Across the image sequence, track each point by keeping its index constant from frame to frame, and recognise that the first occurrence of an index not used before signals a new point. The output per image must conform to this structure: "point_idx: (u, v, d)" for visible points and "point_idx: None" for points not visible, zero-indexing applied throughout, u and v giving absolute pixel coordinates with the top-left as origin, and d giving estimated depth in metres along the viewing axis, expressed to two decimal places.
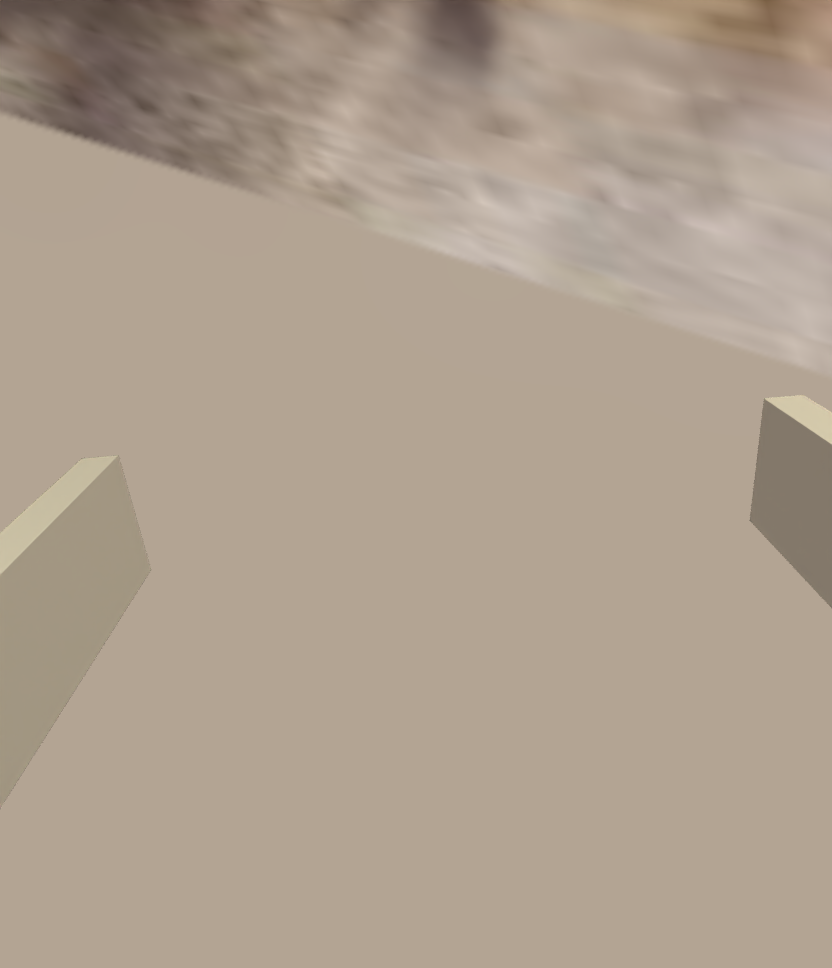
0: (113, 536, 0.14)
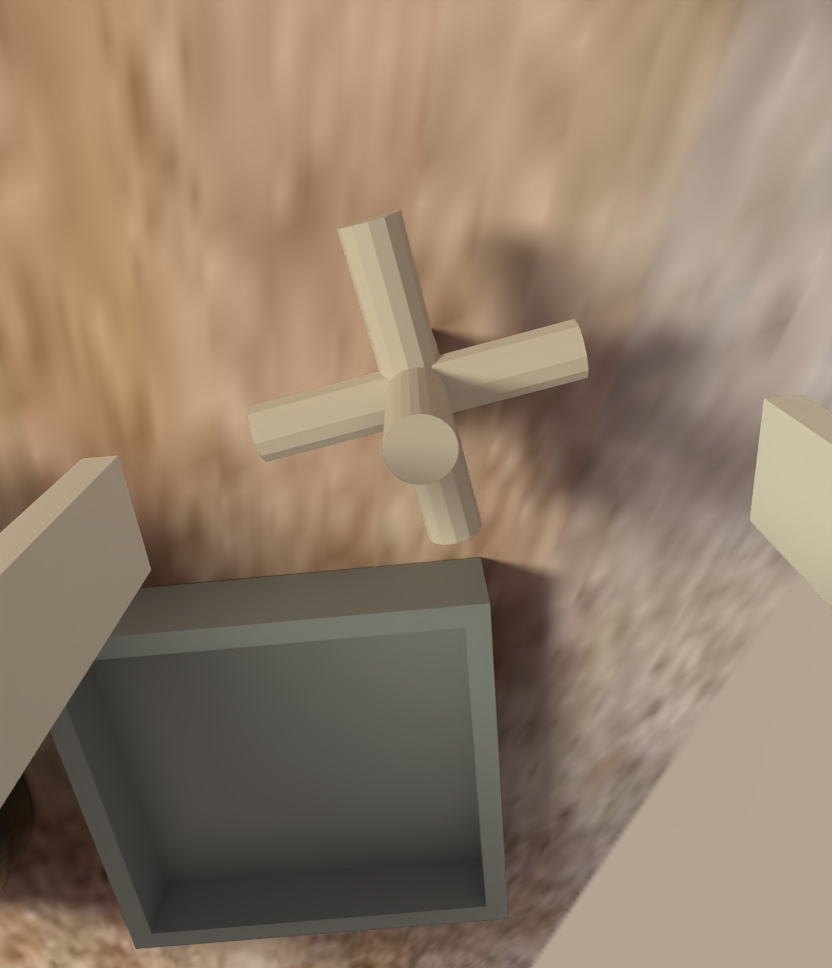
0: (113, 536, 0.14)
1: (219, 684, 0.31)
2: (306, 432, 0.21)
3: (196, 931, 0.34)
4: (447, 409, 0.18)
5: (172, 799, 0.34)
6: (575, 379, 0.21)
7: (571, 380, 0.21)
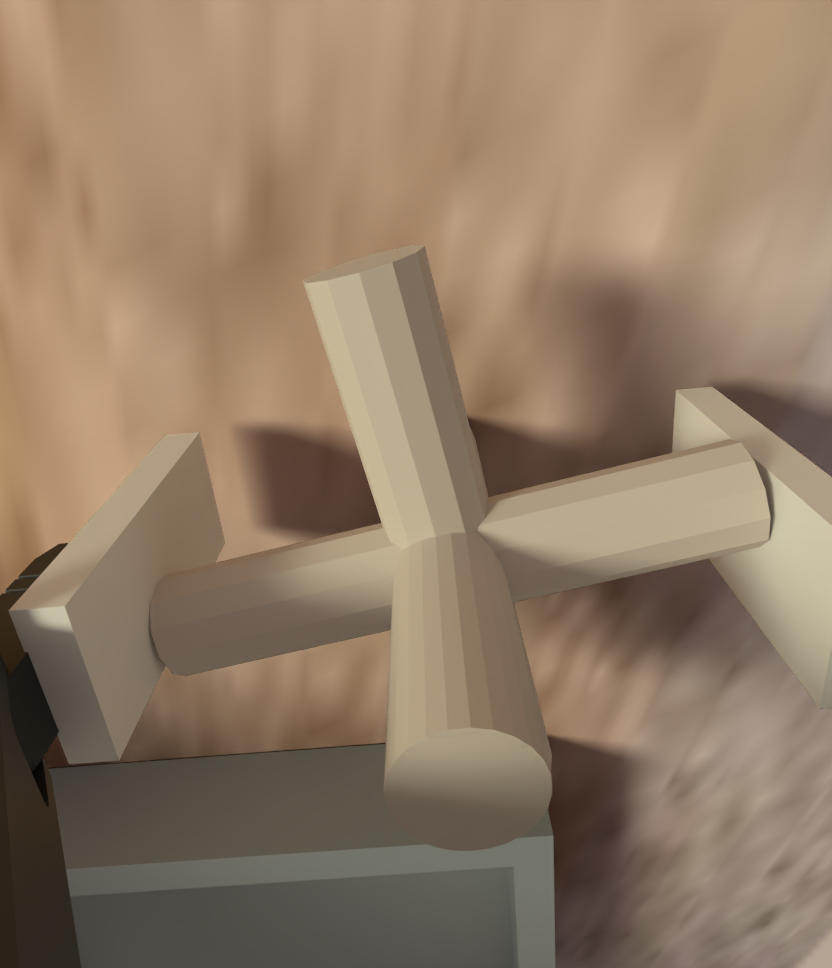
0: (197, 507, 0.15)
1: (157, 896, 0.22)
2: (251, 639, 0.12)
3: None
4: (520, 667, 0.09)
5: None
6: (738, 550, 0.11)
7: (731, 552, 0.11)
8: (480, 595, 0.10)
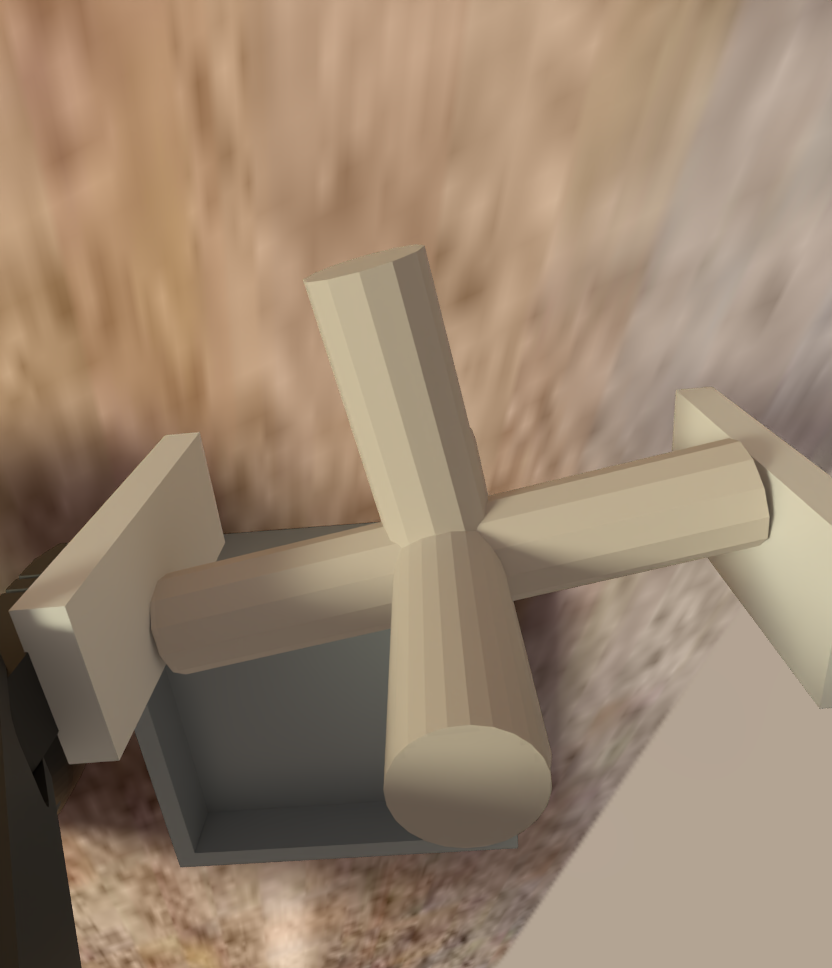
0: (197, 507, 0.15)
1: None
2: (251, 637, 0.12)
3: (235, 851, 0.37)
4: (519, 664, 0.09)
5: (214, 732, 0.37)
6: (738, 549, 0.11)
7: (730, 550, 0.11)
8: (480, 593, 0.10)
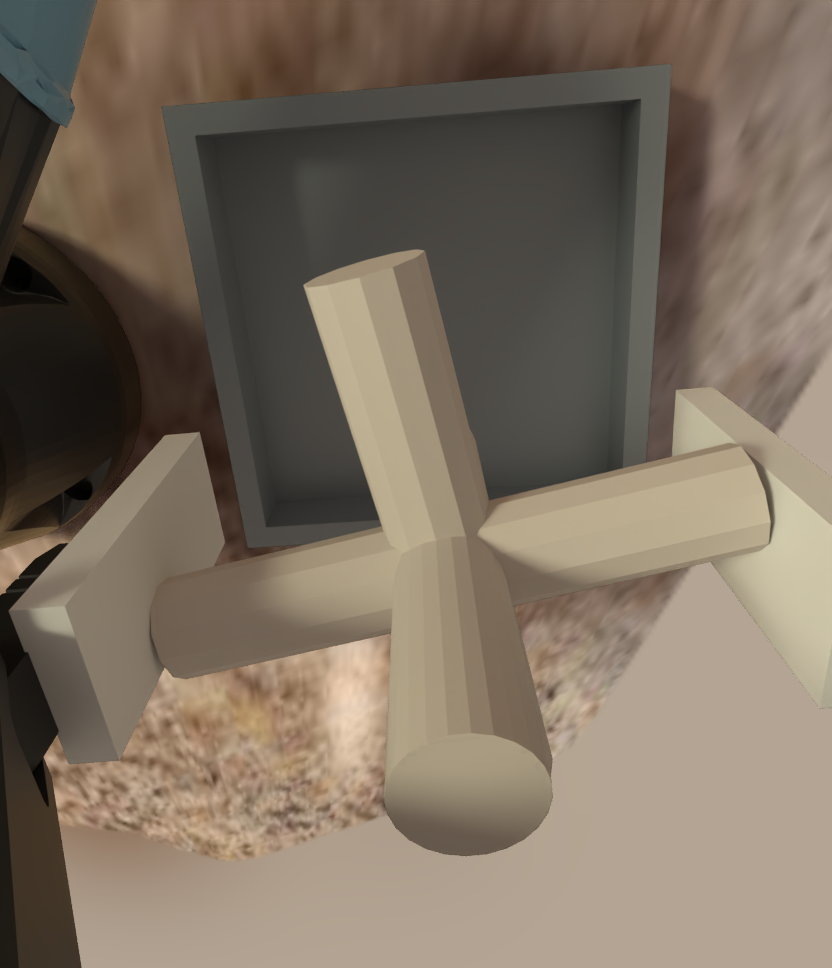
0: (197, 507, 0.15)
1: (354, 227, 0.29)
2: (252, 642, 0.12)
3: (313, 525, 0.32)
4: (520, 671, 0.09)
5: (291, 386, 0.32)
6: (739, 554, 0.11)
7: (731, 555, 0.11)
8: (480, 599, 0.10)
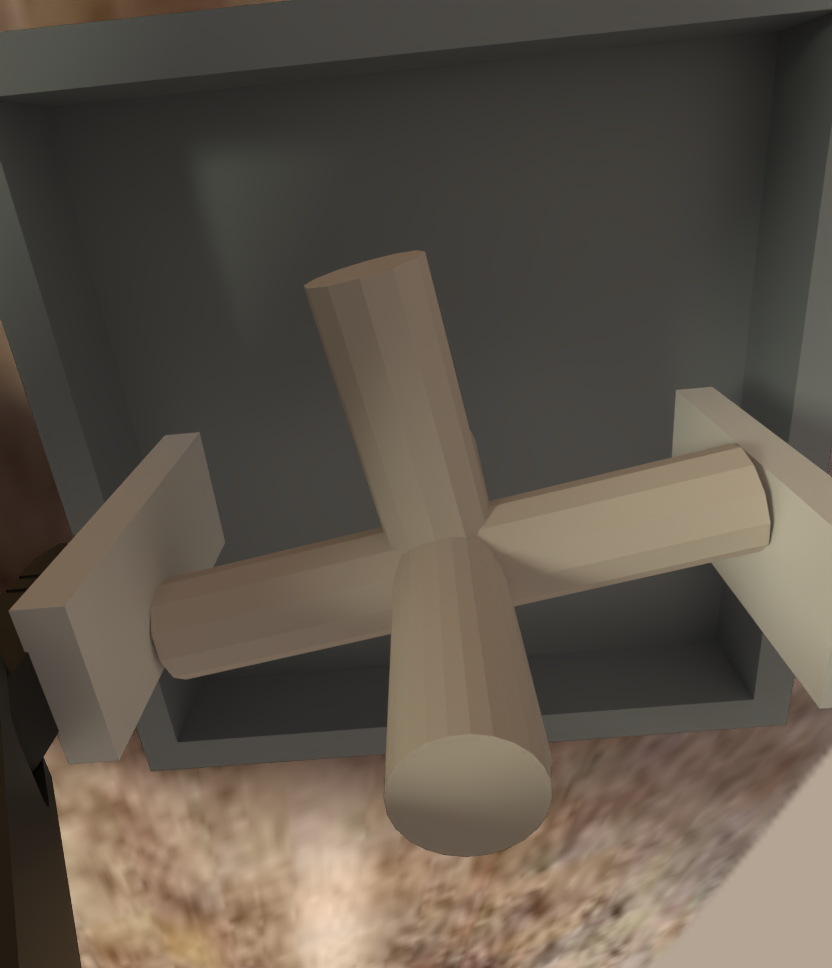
0: (197, 507, 0.15)
1: (305, 260, 0.17)
2: (252, 643, 0.12)
3: (253, 738, 0.20)
4: (520, 672, 0.09)
5: None
6: (739, 555, 0.11)
7: (731, 556, 0.11)
8: (480, 600, 0.10)
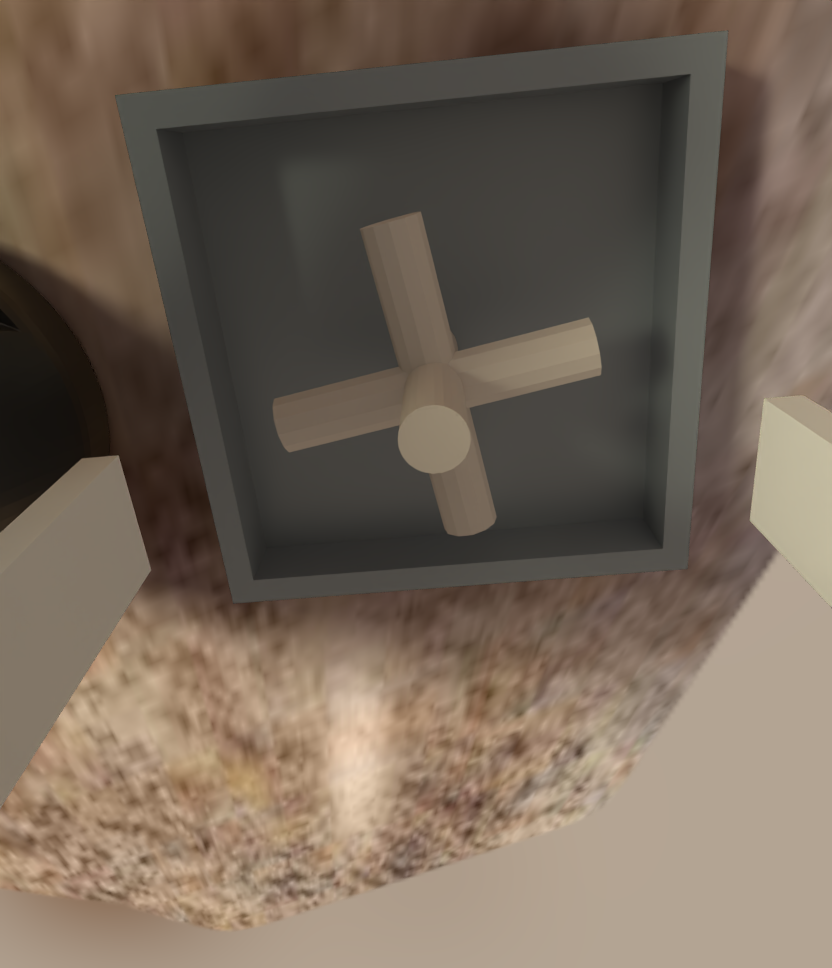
0: (113, 536, 0.14)
1: (349, 234, 0.25)
2: (327, 424, 0.22)
3: (307, 577, 0.28)
4: (461, 402, 0.19)
5: None
6: (588, 376, 0.21)
7: (584, 377, 0.21)
8: (445, 380, 0.20)
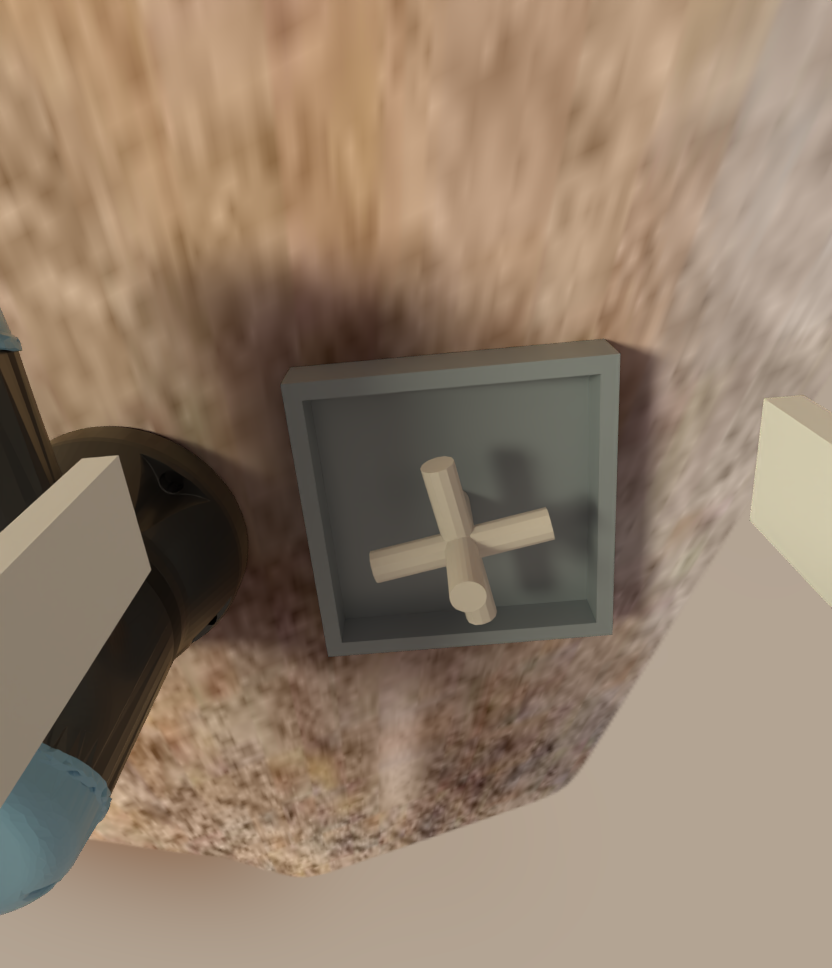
0: (113, 536, 0.14)
1: (405, 439, 0.42)
2: (401, 570, 0.39)
3: (375, 641, 0.45)
4: (480, 571, 0.36)
5: (358, 541, 0.45)
6: (547, 540, 0.38)
7: (545, 541, 0.38)
8: (470, 554, 0.37)
